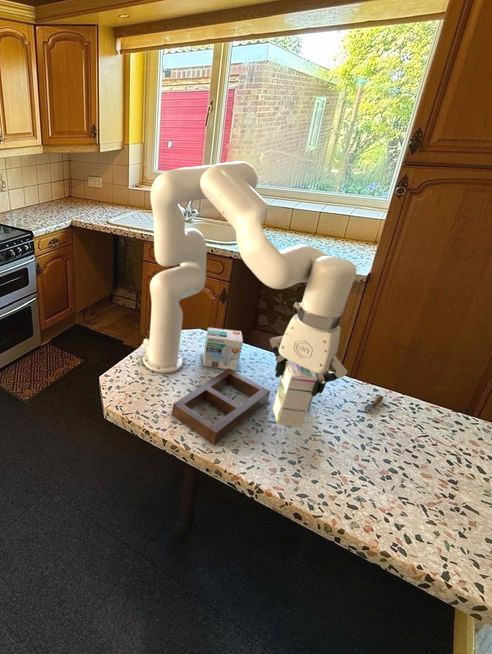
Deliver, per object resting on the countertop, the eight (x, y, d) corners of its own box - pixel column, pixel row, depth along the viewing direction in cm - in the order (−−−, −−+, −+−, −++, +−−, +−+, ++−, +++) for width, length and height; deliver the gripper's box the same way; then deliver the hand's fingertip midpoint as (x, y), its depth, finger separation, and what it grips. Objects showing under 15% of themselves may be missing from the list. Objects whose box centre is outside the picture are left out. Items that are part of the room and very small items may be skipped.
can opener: (378, 397, 113) (379, 394, 113) (387, 402, 111) (388, 399, 111) (361, 409, 109) (362, 406, 108) (370, 414, 107) (371, 411, 107)
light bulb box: (202, 366, 127) (207, 337, 122) (202, 354, 132) (207, 326, 127) (237, 371, 124) (243, 342, 119) (236, 359, 130) (242, 330, 125)
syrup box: (302, 428, 92) (320, 378, 85) (275, 424, 93) (291, 374, 86) (296, 411, 97) (313, 363, 90) (270, 407, 98) (285, 359, 91)
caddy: (171, 415, 107) (173, 403, 105) (226, 378, 121) (228, 368, 119) (213, 445, 97) (216, 433, 96) (267, 402, 112) (270, 390, 110)
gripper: (269, 305, 86) (253, 371, 94) (356, 341, 74) (329, 412, 82) (287, 296, 90) (270, 359, 98) (372, 328, 78) (344, 397, 86)
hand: (297, 383), depth 90 cm, fingers closed on syrup box, 7 cm apart
